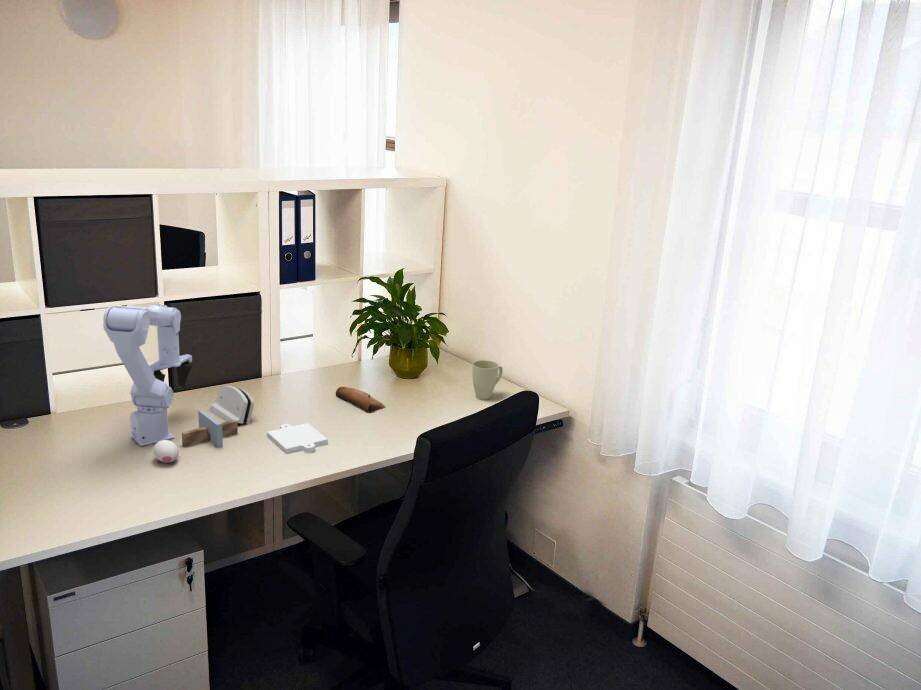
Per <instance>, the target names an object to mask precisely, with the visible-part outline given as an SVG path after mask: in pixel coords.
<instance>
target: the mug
mask: <svg viewBox="0 0 921 690" xmlns="http://www.w3.org/2000/svg"><path fill="white" fill-rule="evenodd" d="M502 375H503V367H502V366H501V365H499V363H498V362H495V361H492V360H486V359H480V360H475V361H473V362H472V384H473V390H474V394H475V397H476V398H477V399H478V400H482V401H483V400H484V401H486V400H490V399H491V397H492V394H493V391H494V390H495V387H496V385H497V384H498V383H499V381H500V380H501V378H502Z"/></svg>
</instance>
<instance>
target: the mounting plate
mask: <svg viewBox="0 0 921 690" xmlns="http://www.w3.org/2000/svg"><path fill="white" fill-rule="evenodd" d="M266 437H267V438H268V439H269V440H270V441H272V443H274V444H275V445H276V446H277V448H279V449H281V451H283V452H284V454H286V455H287V454H293V453H296V452H300V451H302V452H304V453H307V454H309V453H314V452H316V448H317V447H320V446H325V445H328V444H329V443H328V441H329V439H328V438H327V437H326V436H324V435H323V434H322V433H321V432H320V431H318V430H317V429H316V428H315V427H313V426H312V425H310V423H308V422H306V423H302V424H298V425H297V424H296V425H292V424H290V423H284V424H281V425H280V428H279V429H274V430H269V431H267V432H266Z"/></svg>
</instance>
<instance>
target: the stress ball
mask: <svg viewBox="0 0 921 690" xmlns="http://www.w3.org/2000/svg"><path fill="white" fill-rule="evenodd" d="M153 454H154V457H156V459H157V461H155V462H156V464H158V462H159V461H161V462H163V463H166V464H169V463H172V462H175V461H176V459H177V458H179V457H180V458H181V456H179V449H178V446H177V445H176V444H175V443H174V442H173V441H171V440H170V439H168V440H161V441H159V442H156V443H155V445H154V446H153Z"/></svg>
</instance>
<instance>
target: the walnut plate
mask: <svg viewBox="0 0 921 690" xmlns="http://www.w3.org/2000/svg"><path fill="white" fill-rule="evenodd" d="M221 423H222V438H223V439H224V438H228V437H230V436H234V435H238V423H237V421H236V420H231V421H227V422H226V421H224V422H221ZM208 442H210V434H209V433H207V428H205V427H202V428H199V427H197V428H193V429H190V430H185V431H181V445H182V447H184V448H186V447H191V446H195V445H198V444H203V443H208Z"/></svg>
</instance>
